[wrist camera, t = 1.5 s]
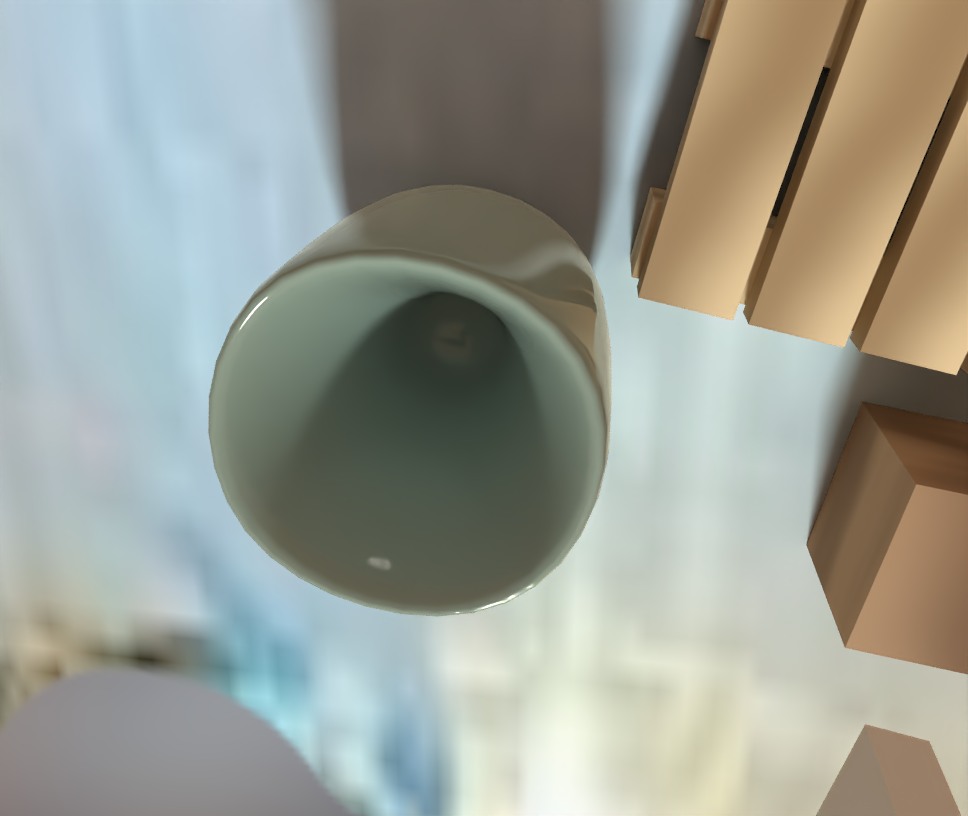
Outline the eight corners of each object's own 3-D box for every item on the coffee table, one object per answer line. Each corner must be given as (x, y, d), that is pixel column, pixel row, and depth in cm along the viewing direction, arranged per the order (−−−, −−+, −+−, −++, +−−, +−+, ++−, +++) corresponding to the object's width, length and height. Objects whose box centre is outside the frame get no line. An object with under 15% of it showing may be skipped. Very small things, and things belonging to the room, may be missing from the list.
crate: (806, 543, 27) (844, 647, 23) (861, 400, 25) (916, 484, 21) (966, 577, 27) (1038, 689, 23) (1035, 435, 25) (1129, 528, 21)
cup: (369, 127, 24) (222, 194, 15) (645, 200, 24) (667, 315, 15) (325, 380, 27) (183, 563, 18) (567, 446, 27) (546, 664, 18)
